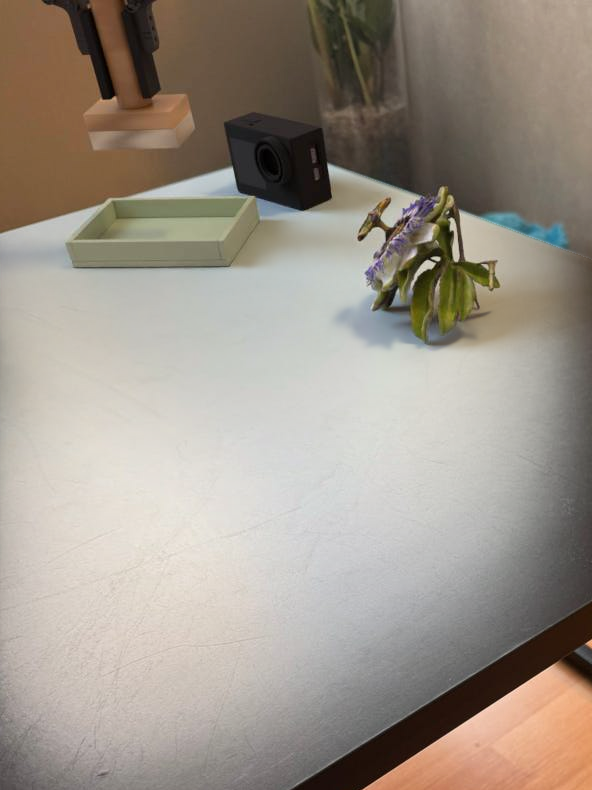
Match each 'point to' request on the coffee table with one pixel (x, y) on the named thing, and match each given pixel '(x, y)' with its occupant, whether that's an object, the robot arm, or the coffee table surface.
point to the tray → (164, 232)
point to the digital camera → (279, 160)
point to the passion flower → (411, 249)
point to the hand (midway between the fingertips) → (131, 94)
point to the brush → (131, 96)
